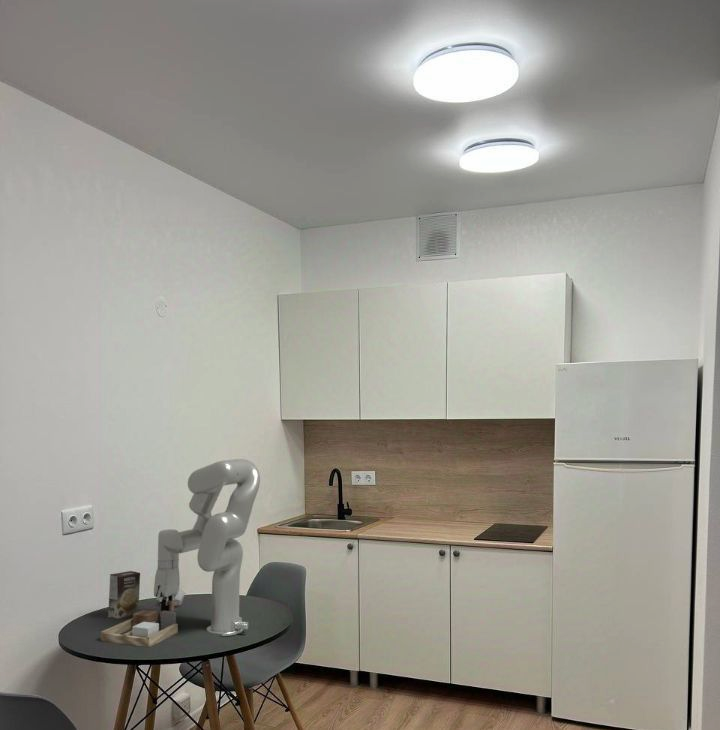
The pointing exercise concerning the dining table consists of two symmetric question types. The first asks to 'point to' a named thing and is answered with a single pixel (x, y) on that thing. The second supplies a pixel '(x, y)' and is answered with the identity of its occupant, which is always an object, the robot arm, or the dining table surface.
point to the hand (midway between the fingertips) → (166, 614)
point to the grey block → (154, 625)
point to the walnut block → (150, 615)
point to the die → (179, 597)
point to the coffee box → (124, 594)
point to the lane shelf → (127, 638)
